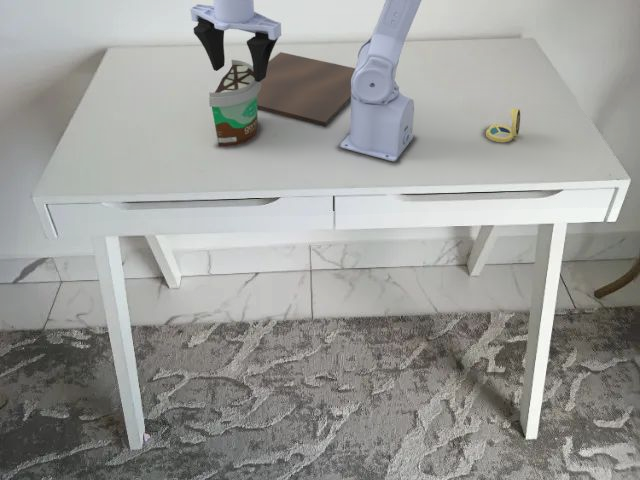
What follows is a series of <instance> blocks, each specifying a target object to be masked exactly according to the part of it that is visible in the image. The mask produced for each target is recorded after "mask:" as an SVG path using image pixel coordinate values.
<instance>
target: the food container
mask: <svg viewBox="0 0 640 480" xmlns="http://www.w3.org/2000/svg"><path fill="white" fill-rule="evenodd" d="M260 89H261V82H256V81H255V79H254V73H253V65H251V64H250V63H247V62H245V61H242V60H238V59H231V66H230V68H229V70H228V72H226V74H225V75H224V76H222V78H221V80H220V82H219V85H218V86H217V88H216V90H214V92H209V94H208V95H209V96H208V99H209V101H208V102H209V107H211V113H212V116H213V122H214V127H215V132H216V138H217V144H218V147H233V146H234V147H235V146H239V145H242V144H245V143H247V142H249V141H251V140H252V139H254V138H255V137H256V135H257V133H258V109H257V94H258V93H259V91H260Z"/></svg>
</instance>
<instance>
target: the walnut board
mask: <svg viewBox="0 0 640 480" xmlns="http://www.w3.org/2000/svg"><path fill="white" fill-rule="evenodd" d="M355 68H356V67H352V66H346V65H343V64H337V63H333V62H328V61H325V60H319V59H315V58H309V57H306V56H305V57H304V56H301V55H295V54H291V53H286V52H282V51H280V52H279V53H278V54H276V55H275V56H274V57H272V58H270V59H269V62H268V66H267V72H266V77H265V78H264V79H263V80H261V81H260V82H261V89H260V91H259V93H258V94H257V110H260V111H264V112H267V113H271V114H276V115H280V116H284V117H288V118H291V119H295V120H299V121H302V122H307V123H311V124H314V125H319V126H323V127H326V126H328V124H330V122H331V121H332V120H333V119H334V118H335V117H336V116H337V115H338V114H339V113H340V112H341V111H342V109H344V108H345V106H347V104H349V103H350V102H351V78H352V75H353V73H354V71H355Z"/></svg>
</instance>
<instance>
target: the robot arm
mask: <svg viewBox="0 0 640 480" xmlns="http://www.w3.org/2000/svg"><path fill="white" fill-rule="evenodd" d="M212 1H213V5H208V4H200V3H197V4H195V5H193V6H192V7H190V18H191V21H192V22H197V25H195V26H194V27H193V34H194V35H195V36H196V37H197V39H198V40H199V42H200V43H201V45H202V46H203V48H204V50H205V52H206V54H207V56H208V59H209V61H210V64H211V67H212V69H213V71H215V72H217V71H219V70H221V69H222V68H223V67H225V63H226V61H225V59H226V58H225V57H226V56H225V46H224V45H225V44H224V43H225V42H224V40H225V39H224V38H225V31H227V30H239V31H243V32H247V33H251V34H254V36H252V37H250V38H249V39H248V40H247V41H246V45H247V48H248V51H249V54H250V57H251V61H252V66H253V73H254V79H255V81H256V82H260V81H261V80H263V79H264V78H265V77H266V72H267V66H268V62H269V61H270V60H271V56H272V53H273V50H274V48H275V45H276V43H277V42H278V40H279V38H280V37H281V36H282V23H281V22H280V21H275V20H273V19H271V18H268V17H266V16H264V15H263V14H261V13H258V12H256V11H255V3H254V0H212ZM422 1H423V0H384V4H383V6H382V9H381V11H380V15H379V17H378V20H377V22H376V24H375V26H374V28H373V29H372V30H373V31H372V33H371V35H370V37H369V38H368V39H367V40H366V41H365V42H364V43H362V45H361V46H360V47H359V50H358V53H357V61H356V65H355V67H354V68H355V71H354V73H353V75H352V78H351V100H350V124H349V125H350V126H349V129H350V131H349V134H348V135H347V136H346V137H345V139H343V141H342V142H341V143H340V144H339V145H340V148H341V149H344V150H348V151H352V152H355V153H359V154H363V155H366V156H370V157H374V158H378V159H382V160H384V161H385V160H386V161H389V162H396V161H397V160H398V159H399V157H400V156H401V155H402V154H403V152H404V151H405V150H406V148H407V147H408V146H409V144H410V142H412V141H413V139H414V135H413V134H412V133H413V125H414V115H415V114H414V113H415V101H414V99H412V98H411V97H408V96H406V95H404V94H403V93H401V91H400V87H399V86H398V84H397V81H396V74H397V70H398V69H397V68H398V65H399V62H400V57H401V55H402V54H401V53H402V52H403V51H402V50H403V48H404V44H405V41H406V39H407V37H408V34H409V32H410V29H411V26H412V24H413V22H414V19H415V18H416V15H417V13H418V10H419V7H420V5H421V3H422Z"/></svg>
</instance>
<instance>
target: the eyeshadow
mask: <svg viewBox="0 0 640 480" xmlns="http://www.w3.org/2000/svg"><path fill="white" fill-rule="evenodd" d="M510 116H511V118H512V119H511V120H512V121H511V127H510V126H509V125H505V124H491V125H490V126H489V127H488V129H486V131H485V136H486V137H487V139H489V140H491V141H493V142H497V143H508V142H510V141H512V140H513V139H514V137H518V135H519V133H520V127H521V126H520V125H521V109H520V108H517V107H515V108H511V110H510Z"/></svg>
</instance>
